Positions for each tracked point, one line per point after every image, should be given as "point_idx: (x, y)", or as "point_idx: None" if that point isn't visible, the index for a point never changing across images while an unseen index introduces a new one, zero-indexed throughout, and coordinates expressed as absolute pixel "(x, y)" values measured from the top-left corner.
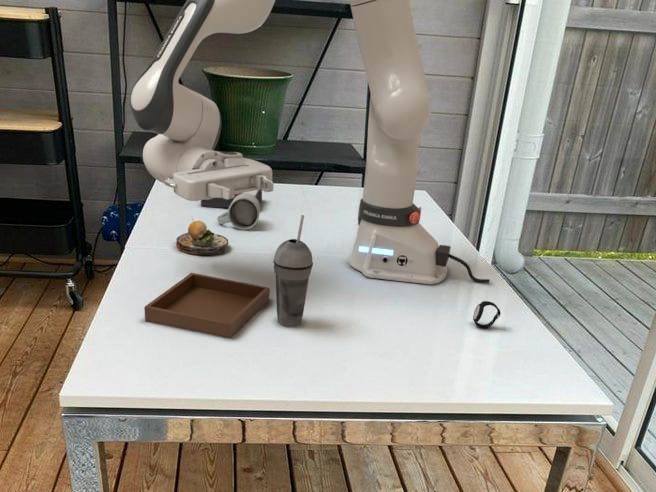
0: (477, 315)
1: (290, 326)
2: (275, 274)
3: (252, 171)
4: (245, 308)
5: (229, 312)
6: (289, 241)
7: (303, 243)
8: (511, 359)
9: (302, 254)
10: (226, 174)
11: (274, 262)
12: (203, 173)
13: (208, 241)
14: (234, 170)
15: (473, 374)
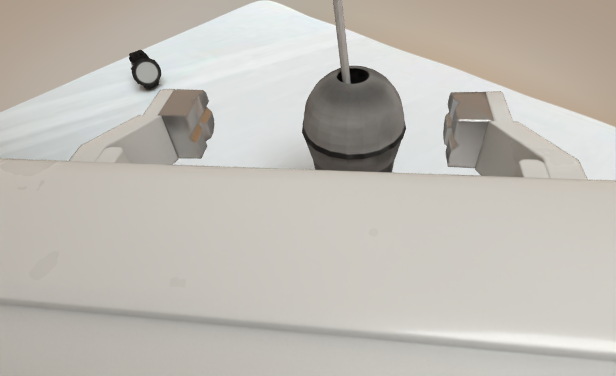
0: (158, 69)
1: None
2: (385, 168)
3: (103, 168)
4: None
5: None
6: (339, 102)
7: (337, 69)
8: (226, 46)
9: (363, 73)
10: (352, 190)
11: (400, 136)
12: (548, 334)
13: None
14: (177, 243)
15: (293, 47)
